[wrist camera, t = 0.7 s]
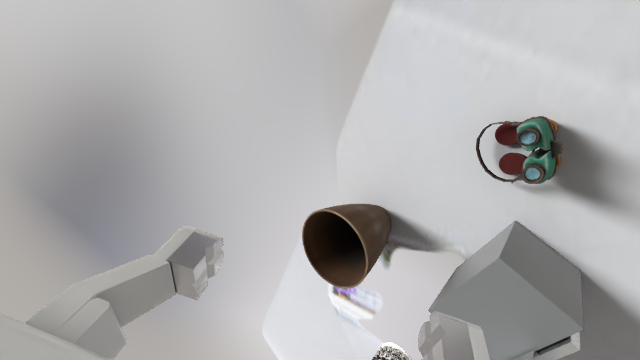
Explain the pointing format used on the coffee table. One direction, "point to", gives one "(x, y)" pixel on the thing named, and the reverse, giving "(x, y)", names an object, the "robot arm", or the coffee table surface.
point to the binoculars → (530, 138)
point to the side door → (555, 349)
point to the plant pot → (345, 241)
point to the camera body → (515, 294)
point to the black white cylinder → (391, 352)
